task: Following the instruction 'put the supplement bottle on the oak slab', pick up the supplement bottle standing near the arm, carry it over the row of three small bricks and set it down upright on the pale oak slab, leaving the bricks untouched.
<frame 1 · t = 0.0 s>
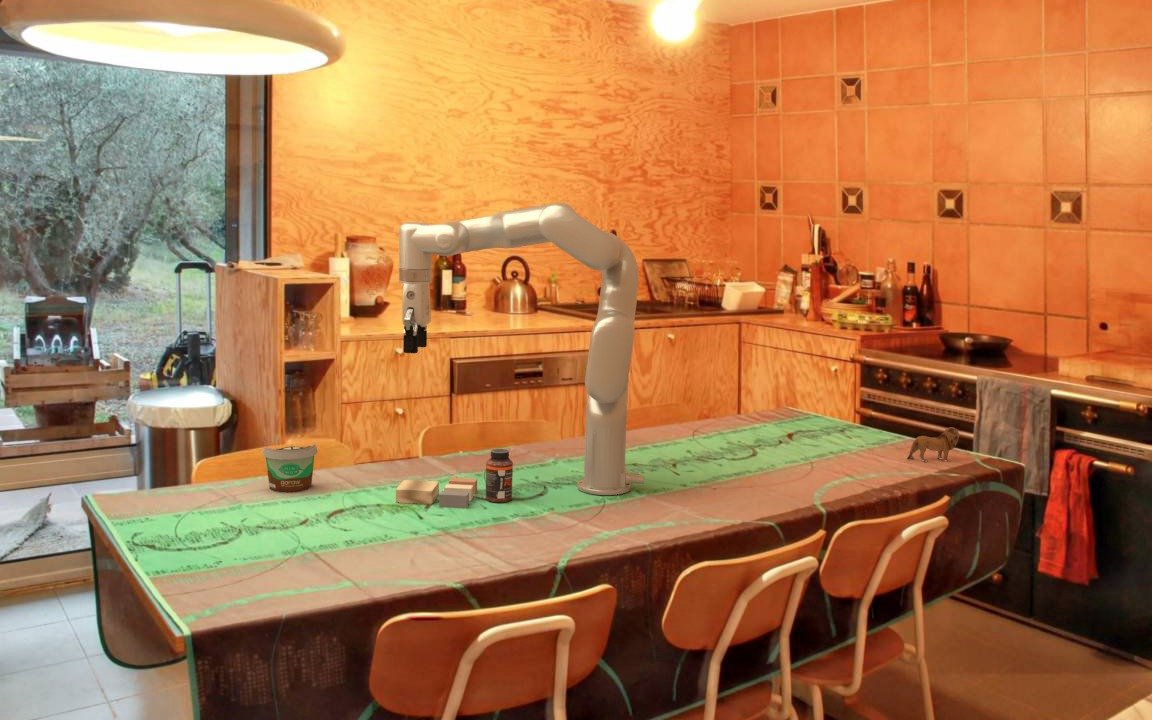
hand: (415, 349, 246), 31 cm above the table, tool pointing down, fingers open, 9 cm apart
oak slab: (417, 498, 236), on the table
food container: (293, 491, 240), on the table
brick slate: (454, 506, 232), on the table
lion figurine: (932, 460, 285), on the table
brick cream: (458, 499, 237), on the table
brick terracotta: (463, 492, 243), on the table
supplement bottle: (498, 500, 237), on the table
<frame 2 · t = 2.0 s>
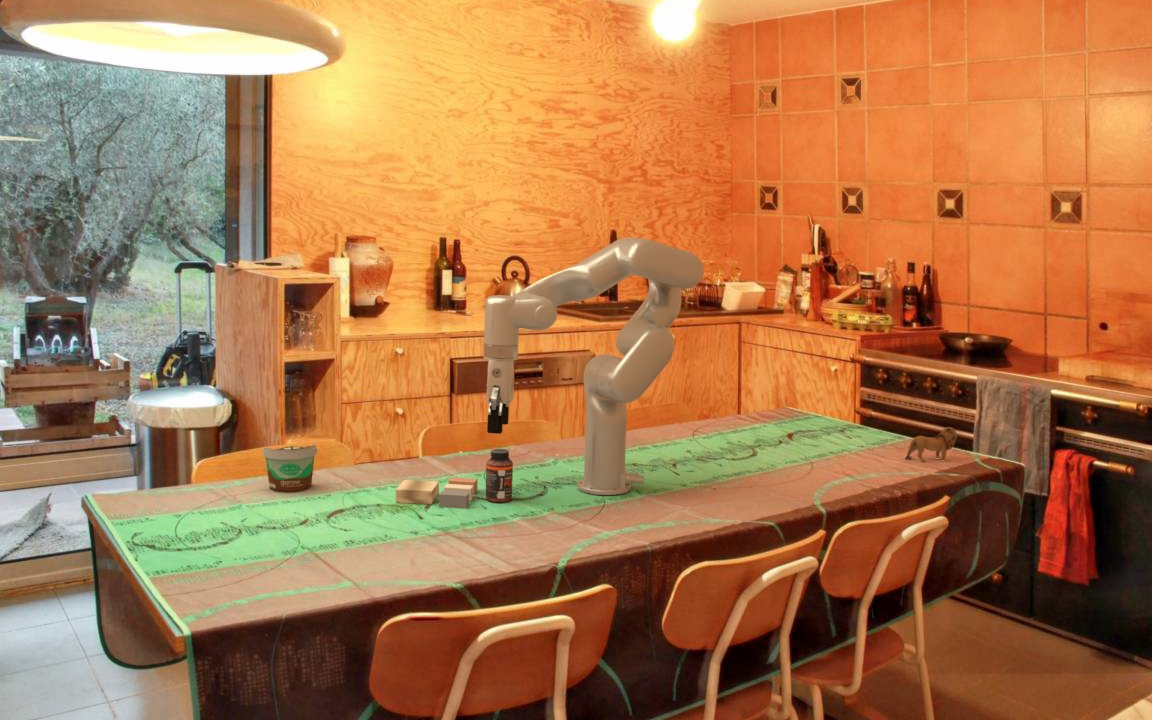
hand: (497, 428, 234), 16 cm above the table, tool pointing down, fingers open, 9 cm apart
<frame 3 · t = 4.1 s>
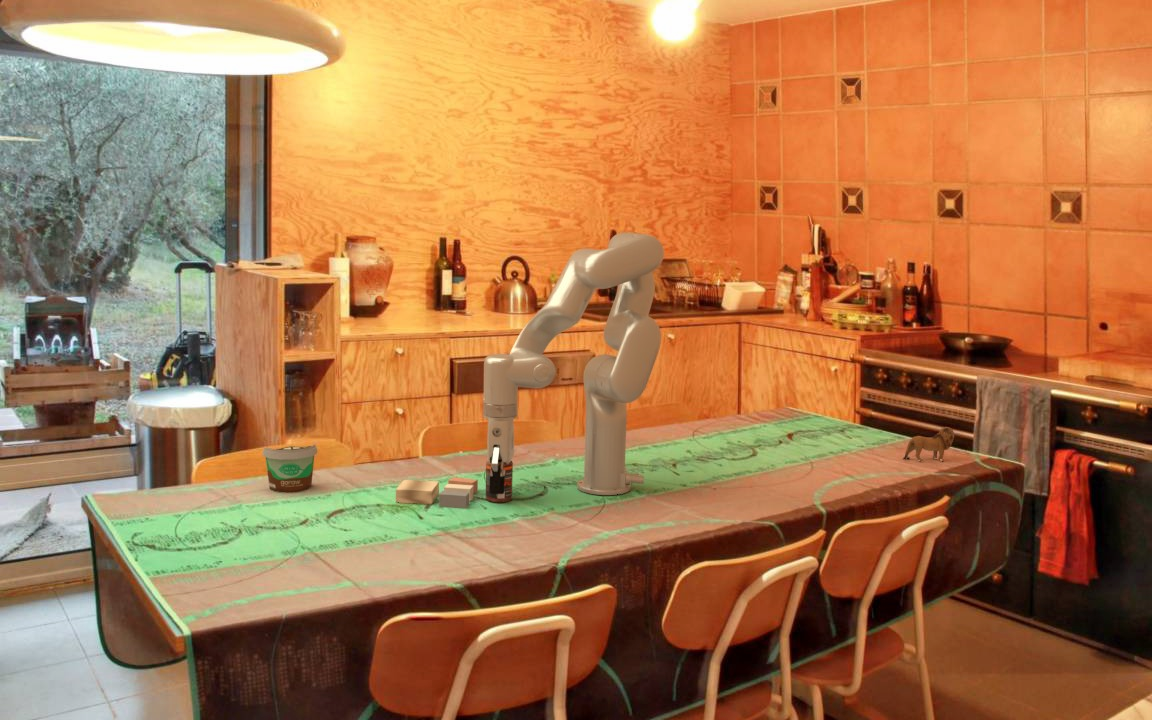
hand: (499, 488, 237), 3 cm above the table, tool pointing down, fingers closed on supplement bottle, 6 cm apart
supplement bottle: (498, 500, 237), on the table, touching gripper
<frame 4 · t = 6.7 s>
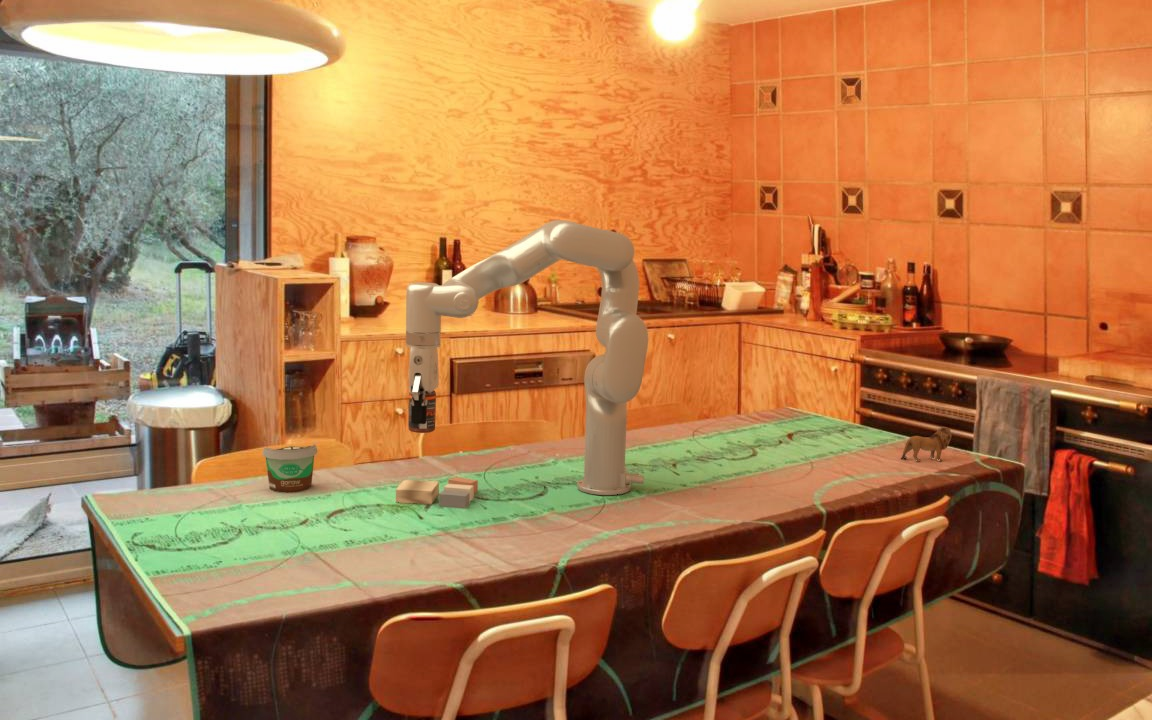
hand: (422, 419, 233), 18 cm above the table, tool pointing down, fingers closed on supplement bottle, 6 cm apart
supplement bottle: (421, 431, 234), point 15 cm above the table, touching gripper
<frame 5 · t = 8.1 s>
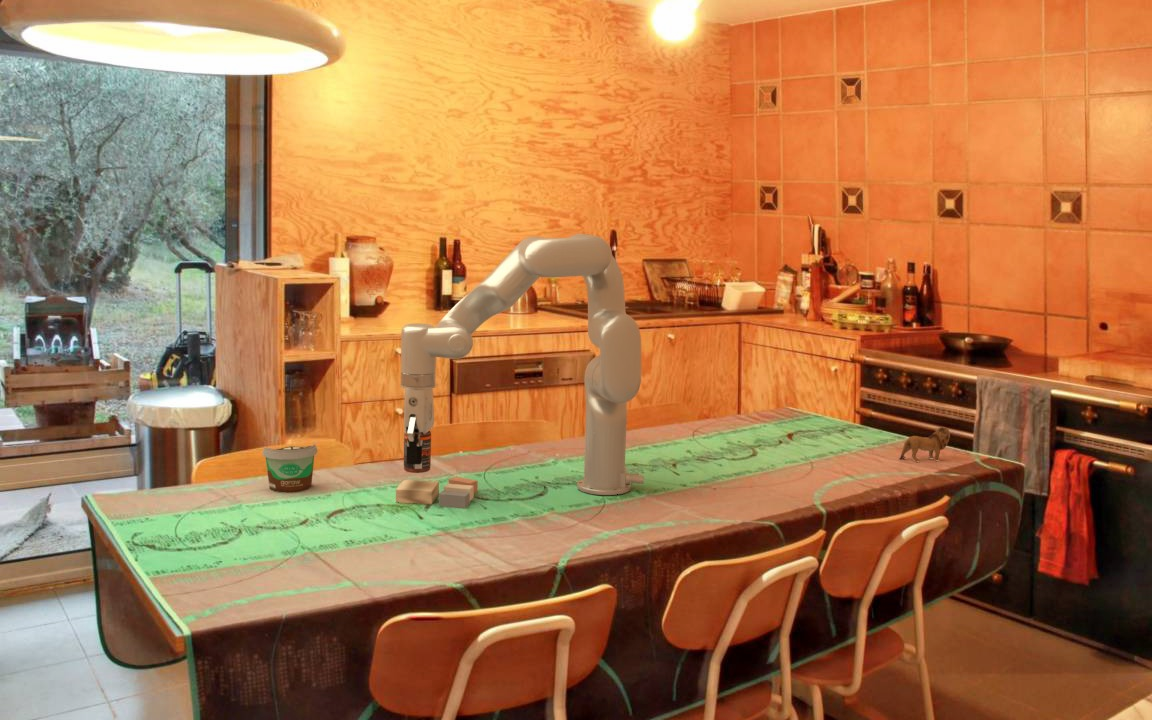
hand: (417, 459, 235), 9 cm above the table, tool pointing down, fingers closed on supplement bottle, 6 cm apart
supplement bottle: (417, 471, 235), point 6 cm above the table, touching gripper
when the fingers open (7 cm above the table, at t = 9.3 s): supplement bottle drops 1 cm, resting on oak slab.
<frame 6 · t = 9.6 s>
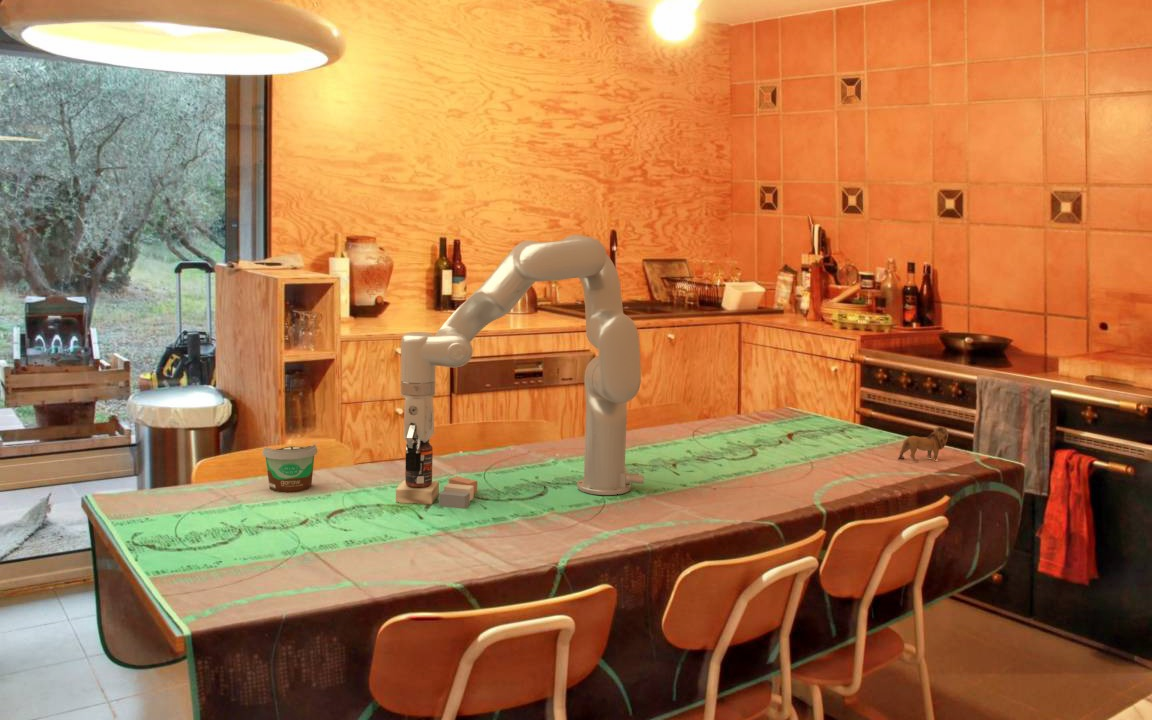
hand: (417, 465, 235), 8 cm above the table, tool pointing down, fingers open, 8 cm apart
supplement bottle: (418, 485, 236), point 3 cm above the table, touching oak slab
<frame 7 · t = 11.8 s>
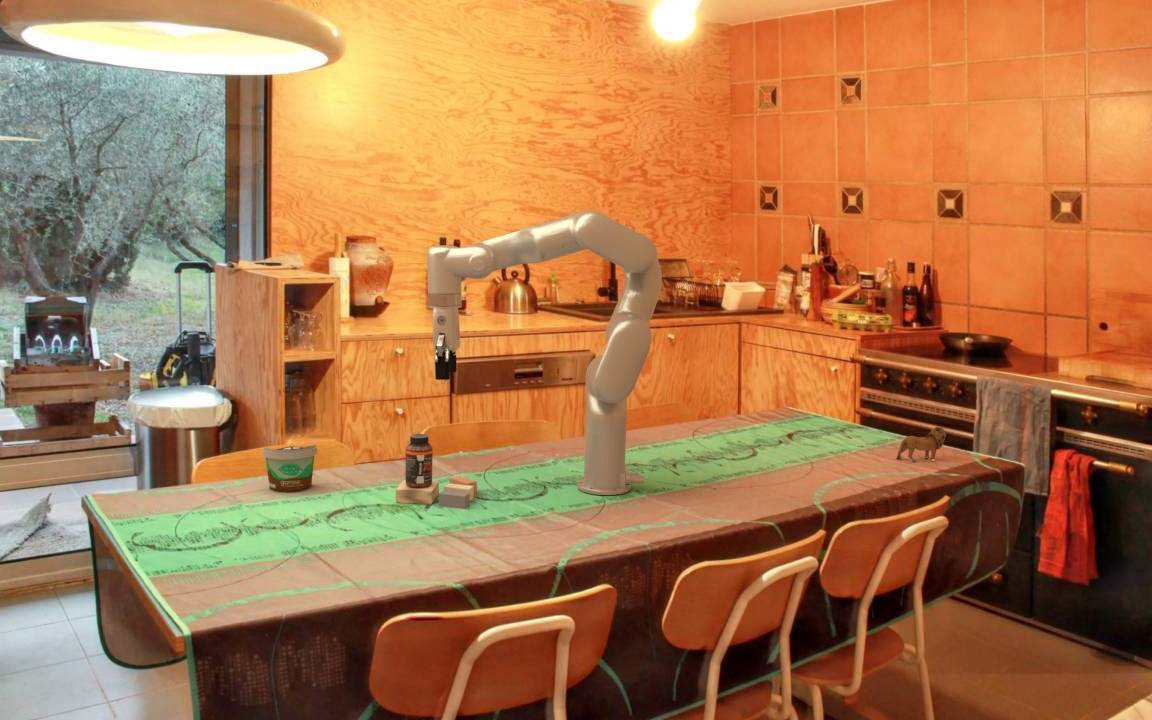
hand: (446, 375, 241), 26 cm above the table, tool pointing down, fingers open, 9 cm apart
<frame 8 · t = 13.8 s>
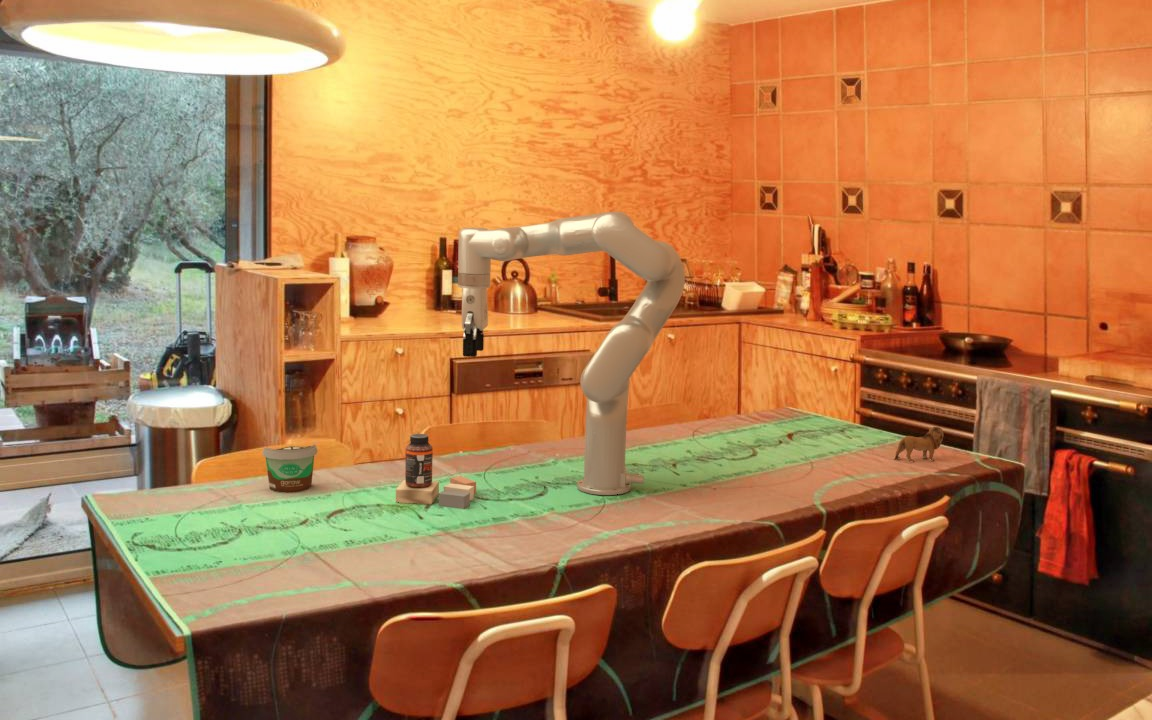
hand: (473, 353, 250), 30 cm above the table, tool pointing down, fingers open, 9 cm apart
at the end: supplement bottle inside the target area on the oak slab (0.4 cm from its centre), point 2.8 cm above the oak slab's base; supplement bottle tilted 0°; brick cream moved 0.2 cm from its start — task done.
